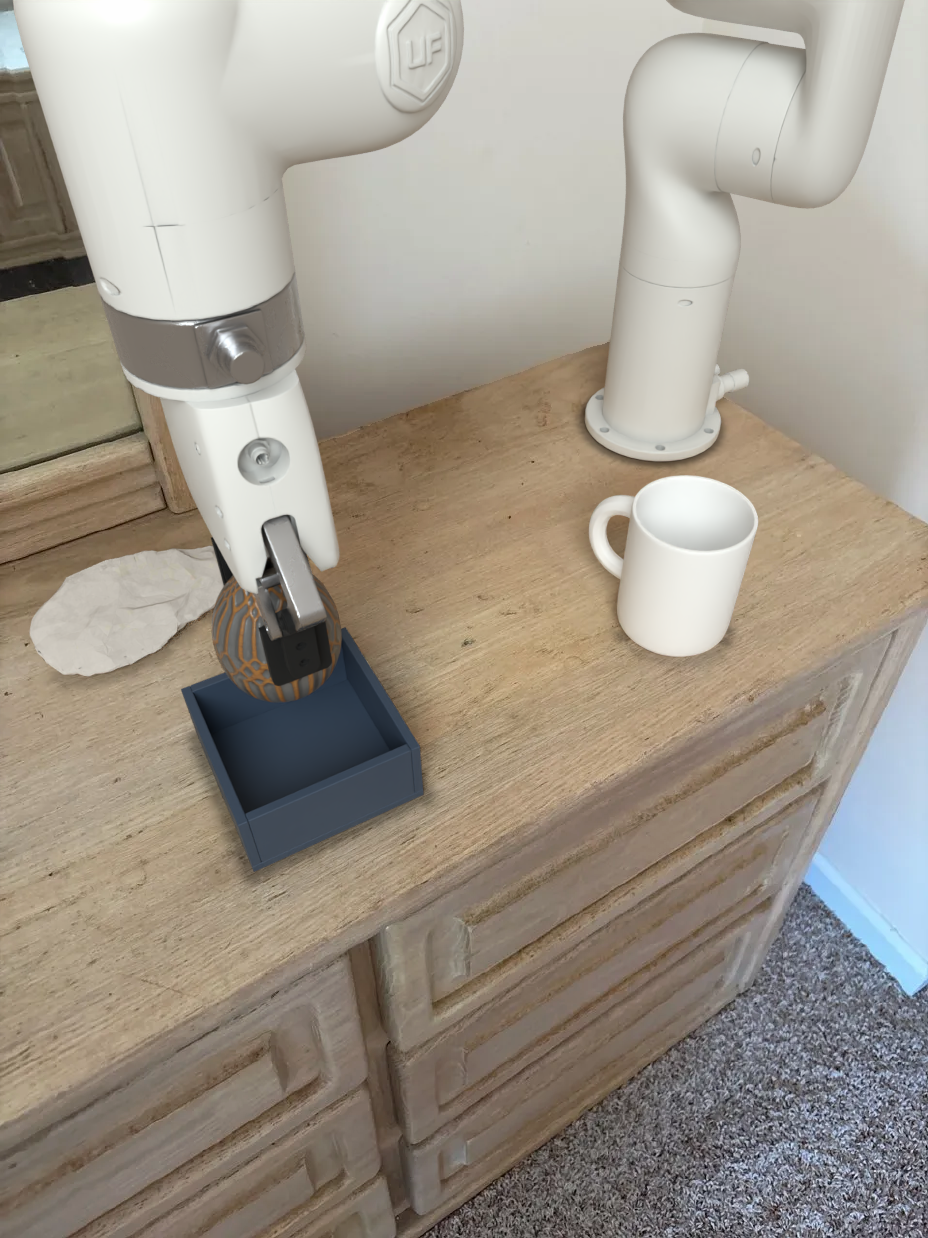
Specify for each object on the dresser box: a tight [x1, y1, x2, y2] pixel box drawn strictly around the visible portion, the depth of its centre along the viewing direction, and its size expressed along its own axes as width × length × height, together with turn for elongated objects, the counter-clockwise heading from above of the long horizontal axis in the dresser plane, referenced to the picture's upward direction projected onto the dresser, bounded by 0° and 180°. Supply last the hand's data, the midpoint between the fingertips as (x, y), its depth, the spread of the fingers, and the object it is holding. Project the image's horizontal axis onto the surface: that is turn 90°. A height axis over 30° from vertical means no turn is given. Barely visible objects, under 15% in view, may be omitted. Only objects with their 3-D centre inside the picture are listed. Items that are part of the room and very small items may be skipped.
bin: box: [180, 627, 425, 873], centre depth 57 cm, size 11×11×5 cm
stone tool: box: [29, 545, 224, 677], centre depth 67 cm, size 9×3×15 cm
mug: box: [588, 474, 759, 658], centre depth 65 cm, size 12×8×10 cm
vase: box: [211, 557, 342, 702], centre depth 49 cm, size 7×7×9 cm
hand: (276, 625), depth 49 cm, fingers closed on vase, 6 cm apart
